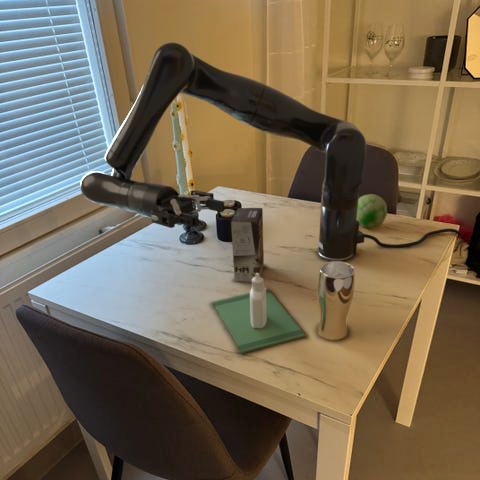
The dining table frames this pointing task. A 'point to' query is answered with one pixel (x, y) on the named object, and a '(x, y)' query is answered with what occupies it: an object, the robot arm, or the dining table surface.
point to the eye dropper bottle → (258, 303)
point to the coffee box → (247, 243)
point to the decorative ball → (371, 211)
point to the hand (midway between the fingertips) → (210, 214)
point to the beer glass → (335, 298)
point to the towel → (250, 338)
